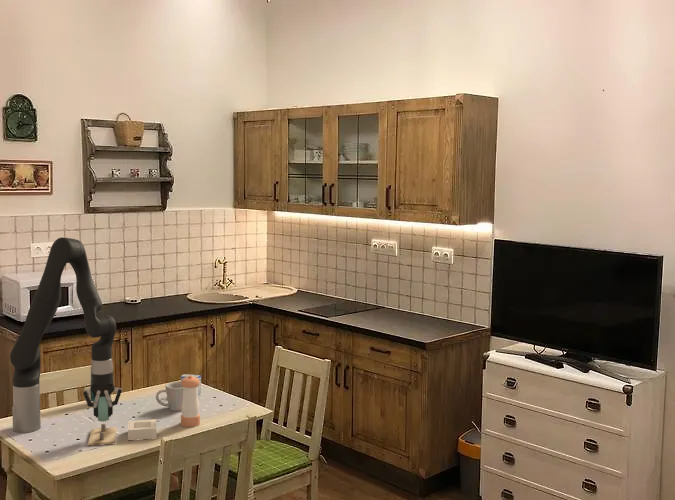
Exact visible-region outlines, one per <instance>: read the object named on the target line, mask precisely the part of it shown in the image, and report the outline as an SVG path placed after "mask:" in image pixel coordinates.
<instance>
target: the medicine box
mask: <svg viewBox="0 0 675 500" xmlns="http://www.w3.org/2000/svg"><path fill="white" fill-rule="evenodd" d="M190 375H191V376H192V377H196V378H198V379H199V382H200V383H199V385H198V397H199V396H200V395H201V393H202V375H200V374H188V373H184V374H182V375H180V381H182V380H183V379H184V378H186V377H188V376H190Z"/></svg>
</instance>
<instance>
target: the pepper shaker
mask: <svg viewBox="0 0 675 500" xmlns="http://www.w3.org/2000/svg"><path fill="white" fill-rule="evenodd" d="M191 375H192V374H190V376H188V377H186V378H184V379H183V380H182V381H181V380H180V381H181V384H182V386H183V401H182V411H181V415H180V425H181V426H182V427H185V428H192V427H193V428H194V427H198V426H200V424H201V415H200V403H199V396H198V385H199V383H200V382H199V379H198V378H196V377H192V376H191Z"/></svg>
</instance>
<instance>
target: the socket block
mask: <svg viewBox="0 0 675 500" xmlns="http://www.w3.org/2000/svg"><path fill="white" fill-rule="evenodd" d="M127 422H128V425H127V426H128V427H127V441H128V440H134V441H138V440H137V439H149V440H153V439H152V438H156V439H157V419H156V418H155V419H153V418H152V419H141V420H140V419H138V420H129V421H127Z"/></svg>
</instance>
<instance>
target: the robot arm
mask: <svg viewBox="0 0 675 500" xmlns="http://www.w3.org/2000/svg"><path fill="white" fill-rule="evenodd" d="M87 255H88V254H87V252H86V249H85V245H84V244H83V242H81V241H80V240H79V239H75V238H70V237H59V238H57V239H55V240H54V241H53V243H52V245H51V247H50V250H49V252H48V257H47V260H46V264H45V267H44V271H43V274H42V276H41V279H40V281H39V284H38V287H37V289H36V291H35V293H34V296H33V298H32V301H31V303H30V306H29V309H28V312H27V315H26V317H25V321H24V324H23V327H22V330H21V333H20V335H19V336H18V337H17V339H16V342H15V344H14V346H13V347H12V349H11V351H10V355H9V359H10V360H9V361H10V363H11V365H12V366H13V367H14V372H13V376H12V394H13V395H12V396H13V397H12V402H13V405H12V407H11V409H12V410H11V411H12V432H13V433H14V432H15V433H31V432H35V431H37V430H39V429H41V427H42V426H41V423H42V422H41V391H40V388H41V387H40V377H41V365H42V363H41V362H42V361H41V358H42V355H41V349H40V342H41V340H42V338H43V336H44V334H45V333H46V331H47V329H48V328H49V326H50V324H51V323H52V321H53V319H54V316H55V315H56V314H57V310H58V308H59V306H60V303H61V301H62V286H61V285H62V284H61V283H62V282H61V279H62V275H63V273H64V272H63V271H64V270H65V267H66V265H67V264H69V265H70V266H71V268H72V270H73V271H74V274H75V279H76V280H75V281H76V284H75V287H76V288H75V289H76V291H75V292H76V296H77V299H78V302H79V304H80V306H81V308H82V310H83V311H82V312H83V318H84V328H85V331H86V333H87V335H88V336H90V337H91V338H99V339H98V341H96V342H94V343H92V345H91V350H90V351H91V362H90V363H91V364H90V381H91V380H92V386H91V385H90V387H91V388H90V387H89V389H83V393H82V395H83V397H84V400H85V401H86V404H87V406H88V408H90V407H92V408H93V416H94V417H95V419H96V418H97V419H98V408H97V403H98V400H99V397H106V399H107V401H108V404H109V418H110V417H112V416H113V412H114V408H113V407H114V406H116V405H118V403H119V400H120V398H121V394H122V392H123V391H122V390H123V389H122V387H115V384H114V363H113V350H112V346H113V343H114V339H115V335H116V330H117V323H116V319H114V317H113V316H111V315H110V314H109V315H101V316H97V313H99V312H100V311H101V310H102V309H103V307H104V305H103V301H102V300H101V297H100V295H99V292H98V290H97V288H96V285H95V283H94V280H93V279H94V278H93V275H92V273H91V267H90V264H89V260H88V256H87ZM90 392H92V393H93V395H94V396H95V401H94V402H92V401H91V396H90ZM113 392H114V393H115V394H116V395H115V398H114V400H112V396H111V395H112V394H113Z"/></svg>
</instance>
